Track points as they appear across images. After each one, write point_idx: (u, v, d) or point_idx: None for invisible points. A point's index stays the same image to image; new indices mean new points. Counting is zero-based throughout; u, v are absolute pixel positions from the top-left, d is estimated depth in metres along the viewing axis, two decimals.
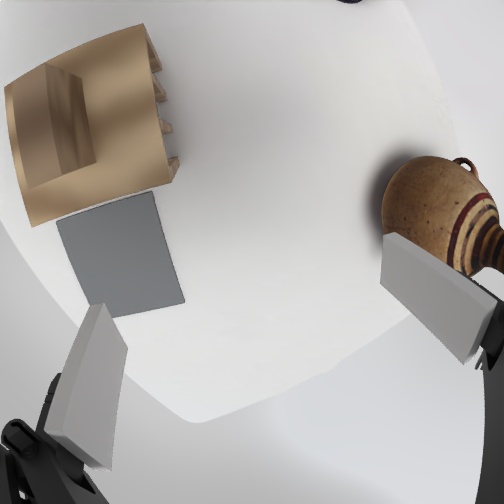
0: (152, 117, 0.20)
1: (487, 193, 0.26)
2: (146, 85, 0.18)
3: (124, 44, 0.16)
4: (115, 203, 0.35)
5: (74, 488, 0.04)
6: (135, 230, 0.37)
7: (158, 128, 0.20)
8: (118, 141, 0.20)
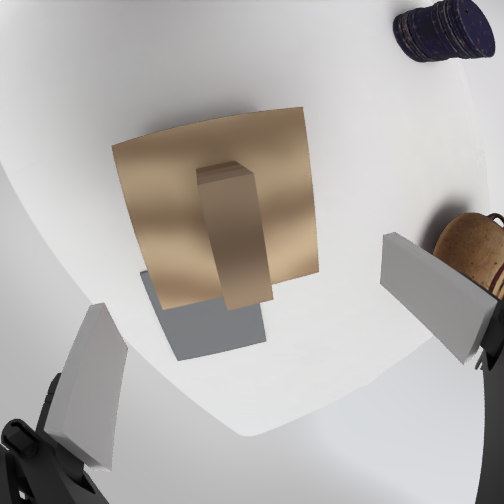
0: (310, 214, 0.24)
1: None
2: (307, 182, 0.22)
3: (284, 129, 0.20)
4: None
5: (74, 488, 0.04)
6: None
7: (315, 225, 0.24)
8: (277, 235, 0.24)
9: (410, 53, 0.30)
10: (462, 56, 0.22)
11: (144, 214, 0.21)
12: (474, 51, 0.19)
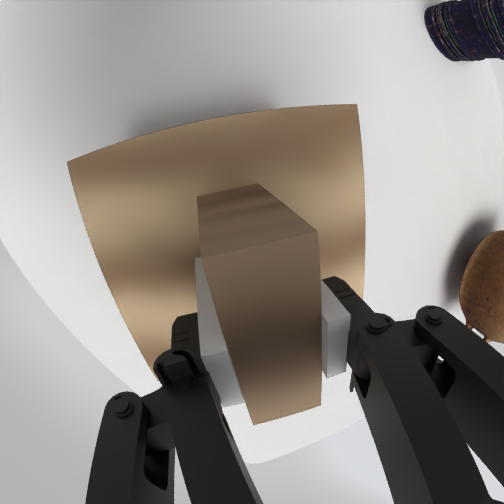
0: (359, 259, 0.16)
1: None
2: (358, 215, 0.15)
3: (331, 136, 0.13)
4: None
5: (226, 431, 0.06)
6: None
7: (363, 272, 0.17)
8: None
9: (444, 49, 0.23)
10: None
11: (121, 265, 0.13)
12: None
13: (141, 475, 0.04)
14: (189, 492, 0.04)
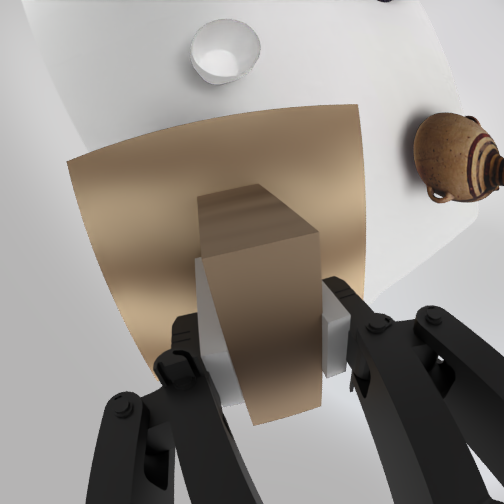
0: (359, 259, 0.16)
1: (489, 135, 0.33)
2: (359, 215, 0.15)
3: (332, 136, 0.13)
4: None
5: (226, 431, 0.06)
6: None
7: (363, 273, 0.17)
8: None
9: None
10: None
11: (120, 265, 0.13)
12: None
13: (141, 475, 0.04)
14: (189, 492, 0.04)
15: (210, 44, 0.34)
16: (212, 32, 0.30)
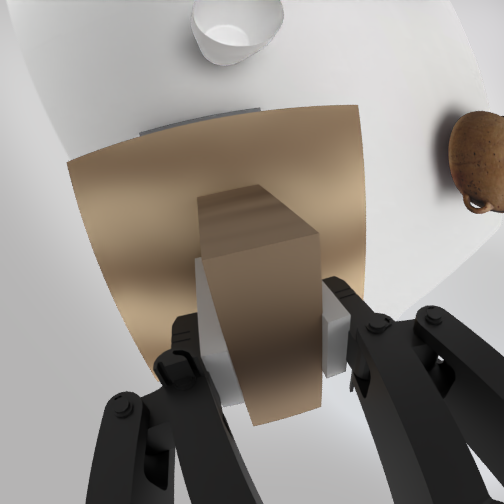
0: (359, 260, 0.16)
1: None
2: (359, 216, 0.15)
3: (332, 137, 0.13)
4: (219, 115, 0.33)
5: (226, 431, 0.06)
6: None
7: (363, 273, 0.17)
8: None
9: None
10: None
11: (121, 265, 0.13)
12: None
13: (141, 475, 0.04)
14: (189, 492, 0.04)
15: (216, 16, 0.25)
16: None
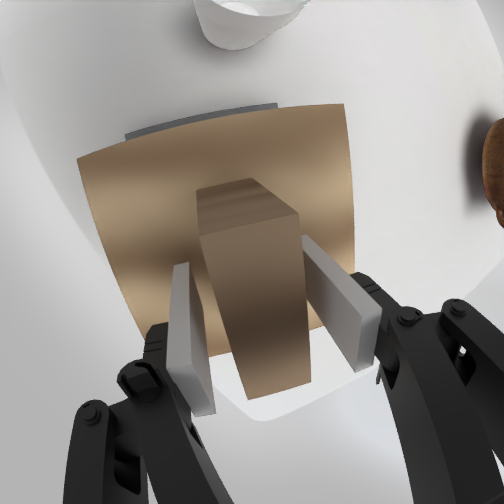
0: (349, 248, 0.18)
1: None
2: (347, 207, 0.16)
3: (320, 133, 0.14)
4: (225, 111, 0.26)
5: (192, 441, 0.05)
6: None
7: (353, 261, 0.18)
8: None
9: None
10: None
11: (126, 253, 0.15)
12: None
13: (112, 479, 0.04)
14: (158, 501, 0.04)
15: None
16: None
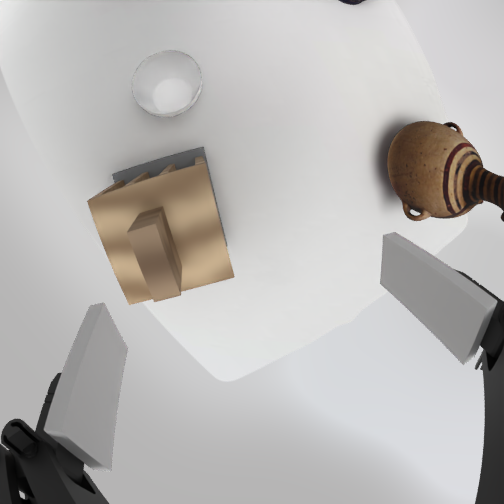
0: (220, 237, 0.34)
1: (470, 144, 0.33)
2: (214, 215, 0.33)
3: (193, 181, 0.31)
4: (171, 156, 0.42)
5: (74, 488, 0.04)
6: None
7: (225, 244, 0.34)
8: (198, 252, 0.34)
9: None
10: None
11: (111, 243, 0.31)
12: None
13: None
14: None
15: (162, 74, 0.35)
16: (158, 64, 0.30)
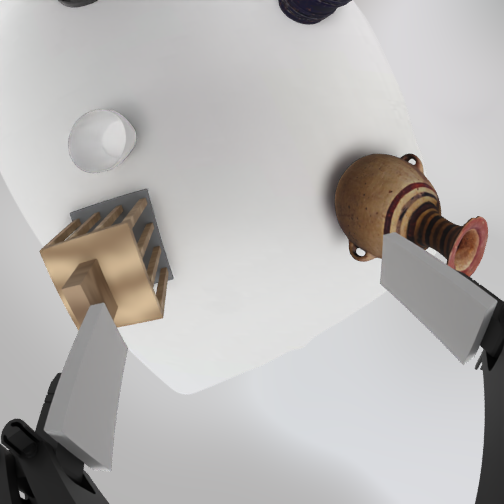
0: (146, 285, 0.36)
1: (424, 183, 0.35)
2: (139, 267, 0.35)
3: (119, 238, 0.33)
4: (118, 198, 0.44)
5: (74, 488, 0.04)
6: None
7: (151, 291, 0.37)
8: (129, 297, 0.36)
9: (294, 17, 0.36)
10: (329, 4, 0.28)
11: (61, 285, 0.33)
12: None
13: None
14: None
15: (105, 120, 0.37)
16: (96, 116, 0.33)
